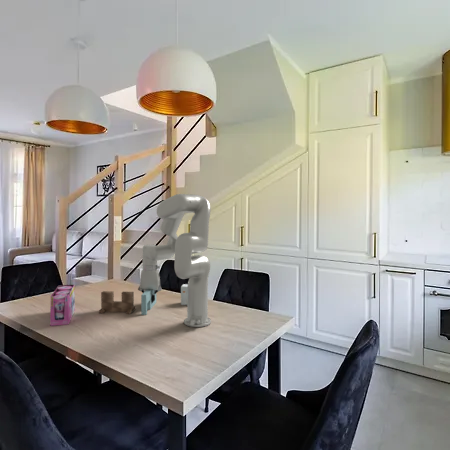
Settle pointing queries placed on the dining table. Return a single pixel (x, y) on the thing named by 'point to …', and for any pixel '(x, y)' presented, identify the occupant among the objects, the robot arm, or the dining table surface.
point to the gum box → (62, 305)
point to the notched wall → (117, 302)
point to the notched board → (146, 301)
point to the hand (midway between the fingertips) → (149, 301)
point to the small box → (184, 294)
